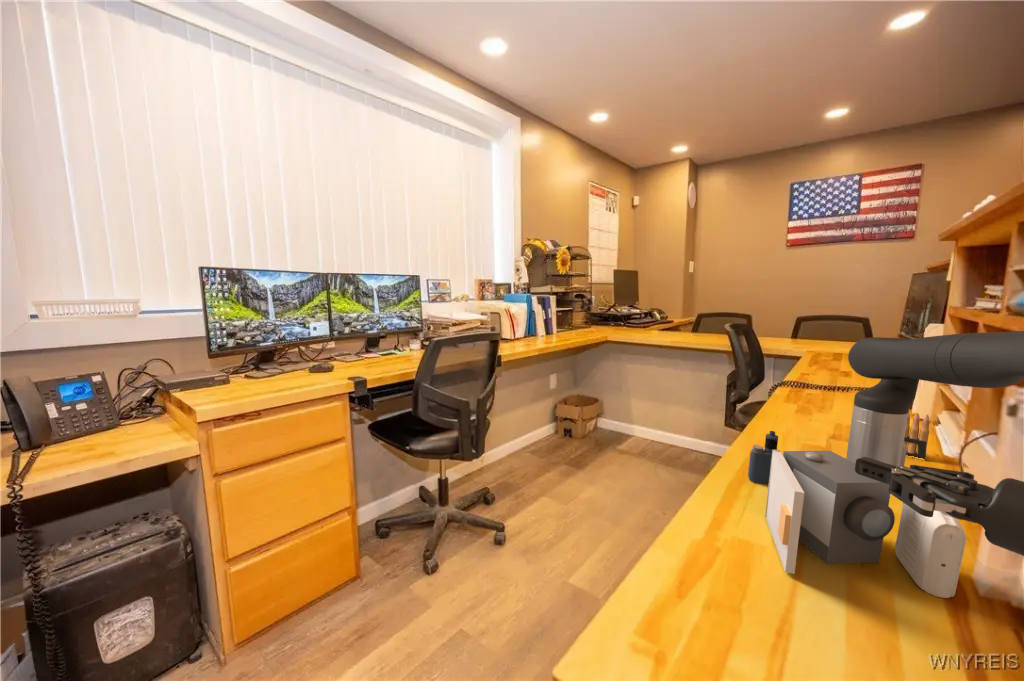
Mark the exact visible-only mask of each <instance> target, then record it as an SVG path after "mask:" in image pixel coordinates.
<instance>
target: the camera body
mask: <svg viewBox="0 0 1024 681" xmlns="http://www.w3.org/2000/svg"><path fill="white" fill-rule="evenodd" d="M782 455H783V457H784V458H785V460H786V462H787V464H788V465H789V467H790V469H791V471H792V472H793V474H794V476H795V477H796V479H797V481H798V483H799V484H800V486H801V488H802V490H803V491H804V500H803V508H802V516H801V524H800V532H799V540H798V541H800V542H801V543H802V544H803V545H804V546H805V547H806V548H807V549H809V550H810V551H811V552H813V554H815V555H816V556H817V557H818V558H820V559H821V560H822V561H823V562H824V563H825V564H860V563H861V564H862V563H863V564H865V563H867V564H868V563H880V561H881V557H882V556H881V555H882V548H883V543H884V538H885V537H887V536H888V535H889V533H890V532H891V531H892V530H893V527H894V525H895V520H896V518H895V512H894V511H893V509H892V508H891V507H890V506H889V504H890V500H891V499H890V498H891V494H890V493H889V492H888V490H889V484H886V483H883V482H880V481H877V480H874V479H871V478H868V477H865V476H862V475H859V474H857V473H856V472H855V463H853V462H851V461H850V460H848V459H846V457H843V456H842V455H839V454H838V453H836V452H835V451H832V450H784V451H783V453H782Z"/></svg>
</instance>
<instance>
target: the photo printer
mask: <svg viewBox="0 0 1024 681" xmlns="http://www.w3.org/2000/svg"><path fill="white" fill-rule="evenodd" d="M901 506H902V507H901V513H900V517H899V518H900V519H899V525H898V530H897V535H896V541H895V547H894V552H895V556H896V557H897V559H898V561H899V562H900V563H901V565H902V566H903V567H904V569H905V570H906V572H907V573H908V575H909V576H910V577H911V578H912V580H913V582H915V584H916V585H917V586H918V587H919V588H920V589H921V590H922V591H924V592H925V593H926V594H930V595H931V596H934V597H938V598H943V599H950V598H953V597H954V596H955V595H956V592H957V591H956V590H957V587H958V581H959V578H960V573H961V572H960V571H961V567H962V564H963V557H964V552H965V547H966V543H967V535H966V532H965V530H964V527H963V525H962V524H961V522H960V521H959V519H955V518H952V517H950V516H947V515H945V514H943V513H941V511H934V513H933V517H926V516H923V515H921V514H919V513H918V512H916V511H915V510H913V509H912V508H910V507H909V506H908V505H906V504H905V503H903V502H902V505H901Z"/></svg>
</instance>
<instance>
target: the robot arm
mask: <svg viewBox="0 0 1024 681" xmlns="http://www.w3.org/2000/svg"><path fill="white" fill-rule="evenodd" d="M847 359H848V363H849V366H850V368H851V369H852V370H853V371H854V372H855V373H856V374H858V375H860V376H861V377H864V378H868V379H872V380H873V379H874V380H875V379H876V380H880V381H878V383H877V384H875V385H873V386H871V387H869V388H866V389H862V390H860V391H857V392H856V393H855V395H854V399H853V405H852V412H851V419H850V427H849V428H850V429H849V435H848V440H847V441H848V442H847V447H846V448H847V449H846V455H845V456H846V457H845V458H846V459H848V460H850V461H851V462H853V463H855V472H856V473H857V474H859V475H862V476H865V477H868V478H871V479H874V480H877V481H880V482H883V483H886V484H889V490H888V492H889V493H890V495H892V496H893V497H895V498H896V499H898V500H899V501H900V502H902V504H903V503H905V504H906V505H908V506H909V507H910V508H912V509H913V510H915V511H916V512H918V513H919V514H921V515H923V516H926V517H933V513H934V511H941V513H943V514H945V515H947V516H950V517H952V518H955V519H957V520H958V521H959V520H960V521H966V522H970V523H974V524H978V525H980V526H981V527H982V528H983V530H984V536H985V539H986V540H987V541H988V543H990V544H991V545H994V546H997V547H999V548H1002V549H1005V550H1008V551H1009V552H1012V553H1015V554H1018V555H1021V556H1023V557H1024V481H1023V480H1019V479H1017V478H1016V479H1015V478H1011V477H1009V478H1008V477H1007V478H1004V479H1001V480H1000V481H999V482H998V483H997V484H996V486H995V488H994V487H991V486H989V485H986V484H982V483H978V481H977V480H975V475H974V474H972V473H970V472H967V471H966V472H965V471H958V470H951V469H946V468H945V469H944V468H937V467H932V466H931V467H930V466H925V465H917V464H910V465H909V467H908V466H906V465H905V464H906V458H907V457H906V452H907V446H908V444H907V445H906V444H904V437H905V431H906V424H907V418H908V412H909V413H910V411H909V410H910V407H911V405H912V404H913V403H914V401H915V399H916V395H917V391H918V387H919V382H920V381H923V382H924V381H926V382H929V383H930V382H931V383H938V384H946V385H953V386H959V387H969V388H979V389H980V388H981V389H1001V388H1006V387H1010V386H1013V385H1015V384H1017V383H1020V382H1022V381H1024V330H1019V331H1018V330H1017V331H1016V330H1015V331H1001V332H999V331H997V332H973V333H972V332H970V333H969V332H968V333H953V334H943V335H934V336H927V337H917V338H906V337H882V336H881V337H880V336H879V337H873V336H871V337H865V338H863V339H860V340H857V342H855V343H854V344H853V345H852V346H851V348H850V349H849V351H848V354H847Z"/></svg>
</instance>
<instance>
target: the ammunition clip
mask: <svg viewBox="0 0 1024 681" xmlns="http://www.w3.org/2000/svg"><path fill="white" fill-rule="evenodd" d="M910 414H911V413H910V411H909V412H908V418H907V424H906V431H905V437H904V444H906V445H907V452H906V455H908V456H914V457H918V458H923V459H925V457H926V456H927V446H928V442H929V441H928V440H929V435H930V416H929V414H926V415H925V416H924V417H923V419H922V424H921V426H920V414H919V412H916V413H915V415H914V416H913V418H912V419H913V420H912V423H911V422H910V420H911V415H910ZM910 423H911V424H910ZM910 425H911V427H910ZM925 460H926V459H925Z"/></svg>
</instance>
